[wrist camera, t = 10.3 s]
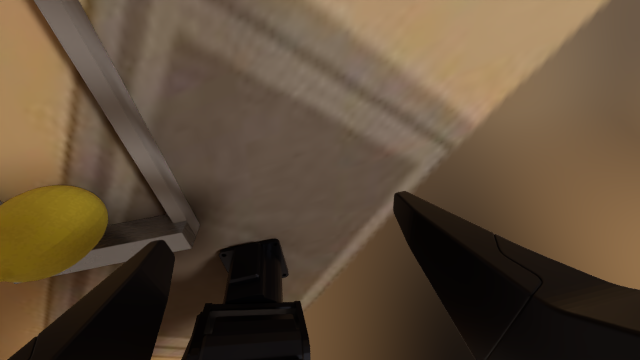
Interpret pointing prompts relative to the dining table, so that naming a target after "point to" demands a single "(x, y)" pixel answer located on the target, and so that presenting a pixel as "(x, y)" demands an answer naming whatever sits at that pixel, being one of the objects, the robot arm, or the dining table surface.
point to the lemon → (48, 231)
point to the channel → (112, 96)
